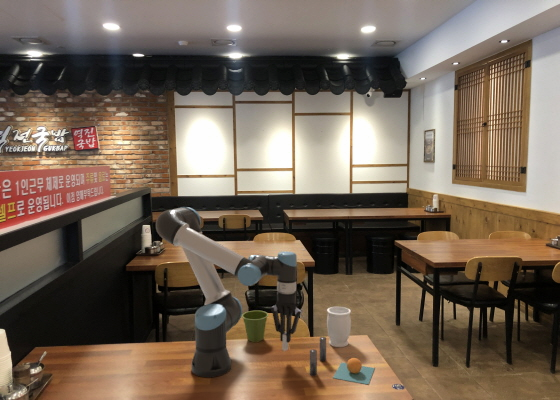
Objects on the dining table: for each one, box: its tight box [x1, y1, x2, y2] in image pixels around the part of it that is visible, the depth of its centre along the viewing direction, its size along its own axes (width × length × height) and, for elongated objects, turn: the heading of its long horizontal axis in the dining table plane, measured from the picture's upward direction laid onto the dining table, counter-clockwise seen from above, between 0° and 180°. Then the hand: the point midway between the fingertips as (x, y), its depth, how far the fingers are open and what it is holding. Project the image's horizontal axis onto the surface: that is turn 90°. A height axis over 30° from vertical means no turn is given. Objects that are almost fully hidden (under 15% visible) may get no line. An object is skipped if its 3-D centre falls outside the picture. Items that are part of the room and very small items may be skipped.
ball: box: [346, 357, 363, 374], centre depth 159 cm, size 6×6×6 cm
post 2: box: [319, 336, 327, 362], centre depth 170 cm, size 3×3×9 cm
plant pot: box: [241, 310, 269, 343], centre depth 191 cm, size 12×12×11 cm
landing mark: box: [332, 362, 375, 386], centre depth 159 cm, size 13×13×1 cm
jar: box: [326, 306, 352, 348], centre depth 185 cm, size 11×10×15 cm
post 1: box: [309, 349, 318, 377], centre depth 158 cm, size 3×3×9 cm
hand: (285, 349), depth 169 cm, fingers closed
